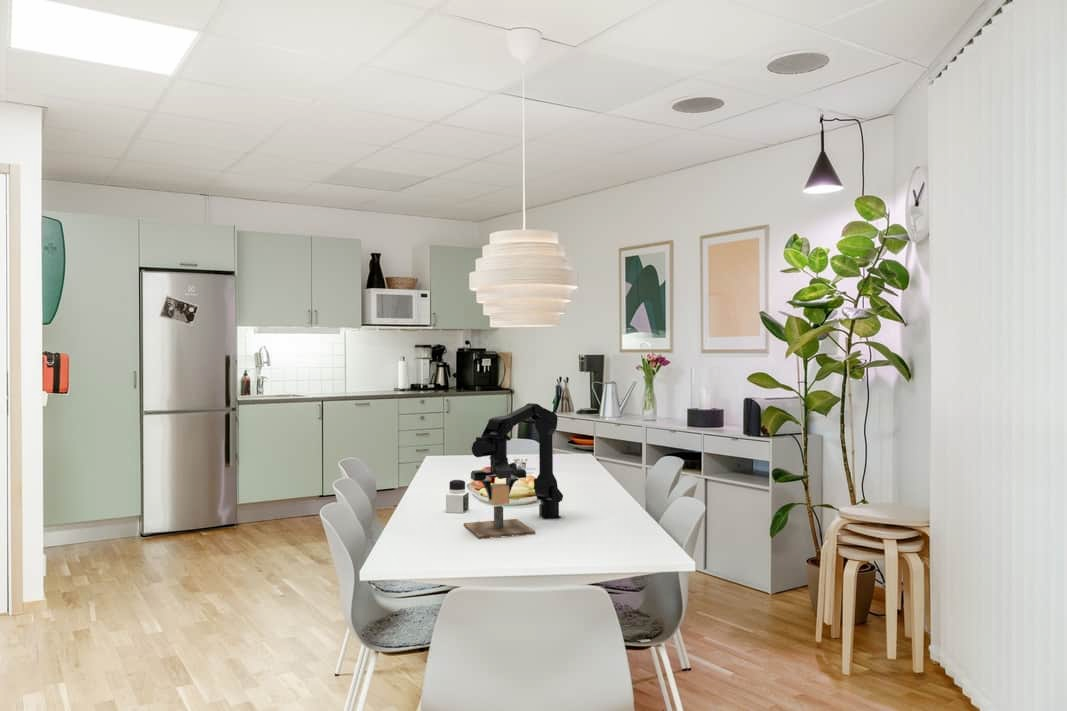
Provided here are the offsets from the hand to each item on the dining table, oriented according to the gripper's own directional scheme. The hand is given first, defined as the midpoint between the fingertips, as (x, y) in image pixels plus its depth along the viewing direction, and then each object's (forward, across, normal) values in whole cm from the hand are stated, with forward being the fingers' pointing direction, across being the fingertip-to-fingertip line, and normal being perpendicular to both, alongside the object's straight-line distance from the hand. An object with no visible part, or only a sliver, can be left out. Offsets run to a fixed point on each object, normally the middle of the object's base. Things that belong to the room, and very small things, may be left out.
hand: (498, 498), depth 270 cm
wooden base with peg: (+11, 0, 0) cm, 11 cm away
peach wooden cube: (+1, 0, 0) cm, 1 cm away
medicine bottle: (+11, -6, +35) cm, 37 cm away
